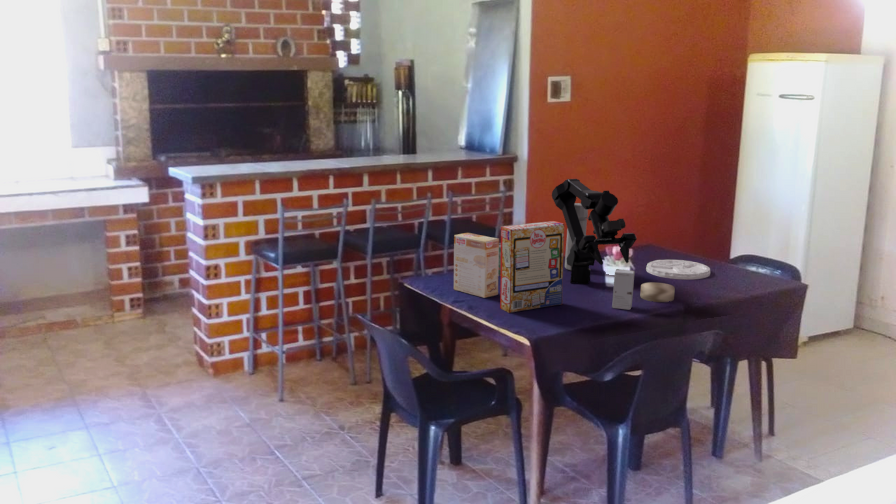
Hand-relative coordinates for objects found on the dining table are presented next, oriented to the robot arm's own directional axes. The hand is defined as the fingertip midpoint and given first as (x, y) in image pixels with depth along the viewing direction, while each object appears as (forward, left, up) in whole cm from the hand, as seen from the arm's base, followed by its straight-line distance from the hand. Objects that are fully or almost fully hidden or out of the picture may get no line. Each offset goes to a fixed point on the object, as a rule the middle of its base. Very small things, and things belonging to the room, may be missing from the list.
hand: (614, 263), depth 264 cm
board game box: (-26, -11, -13) cm, 31 cm away
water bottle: (-13, +43, -13) cm, 47 cm away
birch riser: (+15, +8, -13) cm, 21 cm away
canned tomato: (-38, +30, -13) cm, 50 cm away
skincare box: (+3, -6, -13) cm, 15 cm away
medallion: (+25, +48, -14) cm, 56 cm away
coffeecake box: (-46, +3, -13) cm, 48 cm away
